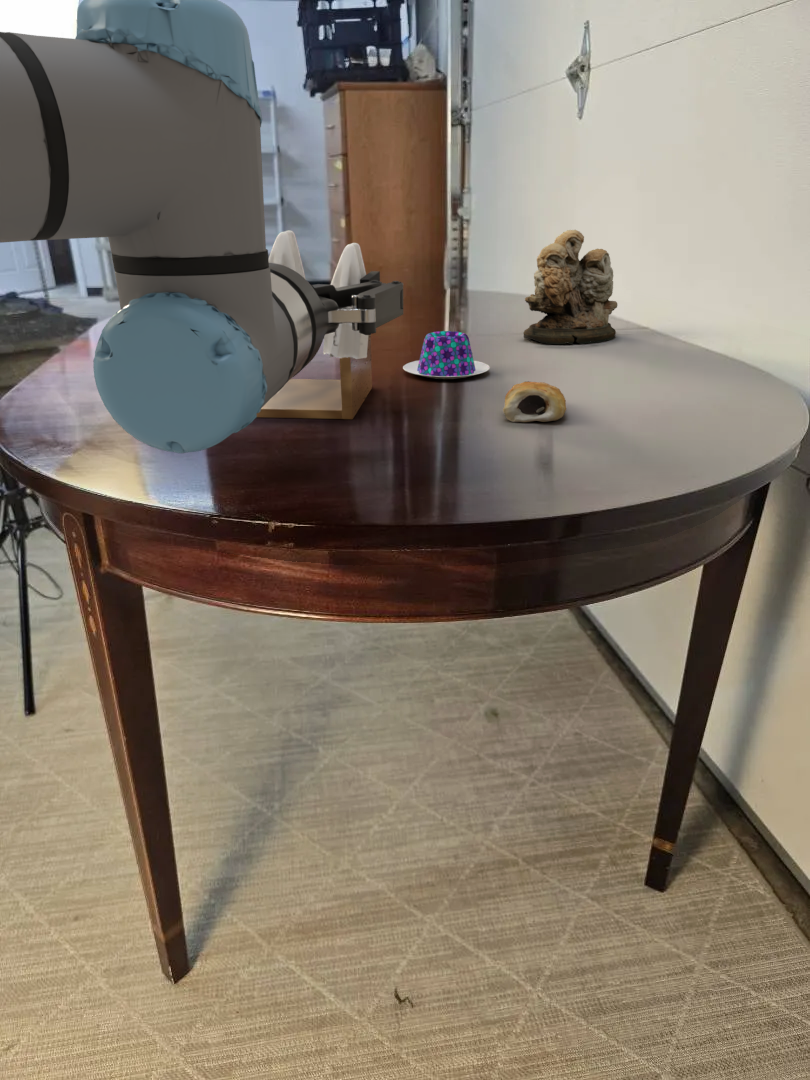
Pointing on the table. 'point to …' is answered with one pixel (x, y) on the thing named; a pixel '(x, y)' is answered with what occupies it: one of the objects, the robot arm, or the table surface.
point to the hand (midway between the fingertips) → (326, 286)
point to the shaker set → (345, 274)
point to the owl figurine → (572, 293)
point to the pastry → (534, 402)
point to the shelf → (324, 393)
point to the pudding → (446, 357)
